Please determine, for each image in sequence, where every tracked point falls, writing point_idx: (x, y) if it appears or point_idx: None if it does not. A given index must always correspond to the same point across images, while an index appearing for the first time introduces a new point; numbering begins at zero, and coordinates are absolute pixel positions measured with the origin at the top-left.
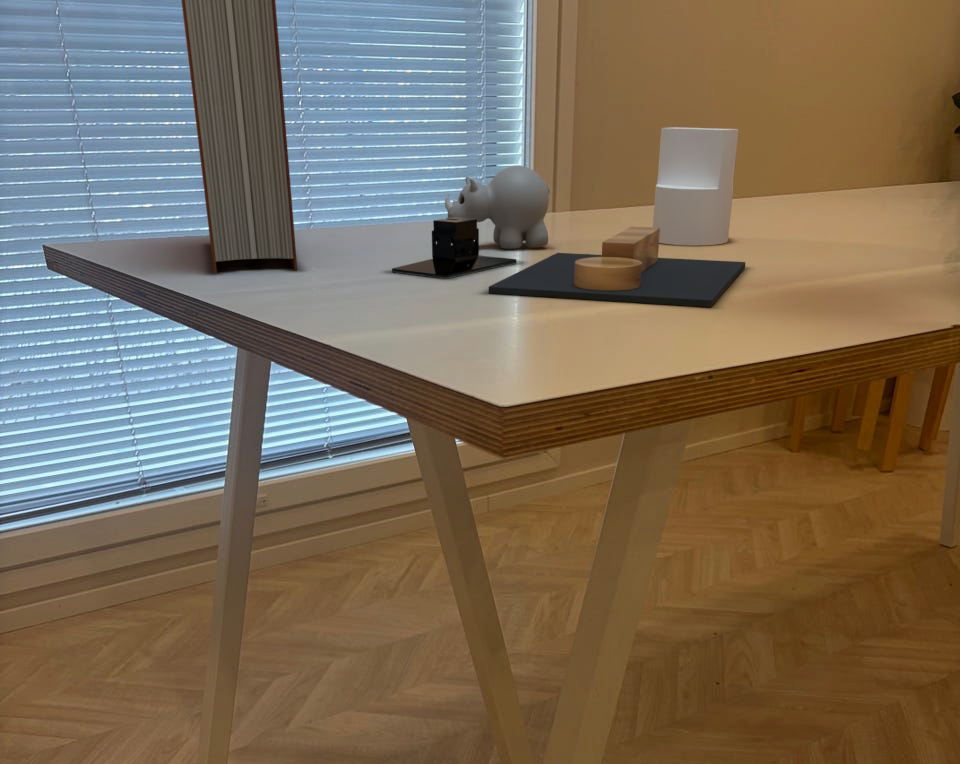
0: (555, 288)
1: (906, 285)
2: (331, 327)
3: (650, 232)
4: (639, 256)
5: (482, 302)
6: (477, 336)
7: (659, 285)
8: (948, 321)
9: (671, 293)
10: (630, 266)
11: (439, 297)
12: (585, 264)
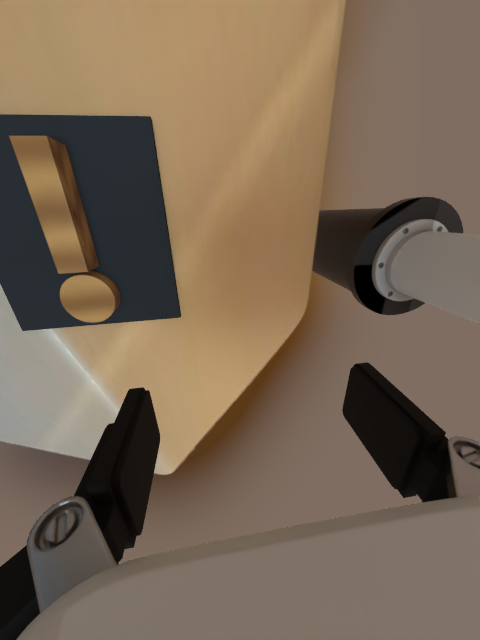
0: (70, 320)
1: (294, 173)
2: (25, 431)
3: (60, 187)
4: (86, 244)
5: (44, 354)
6: (102, 417)
7: (129, 281)
8: (307, 300)
9: (149, 306)
10: (113, 311)
11: (6, 351)
12: (79, 317)
